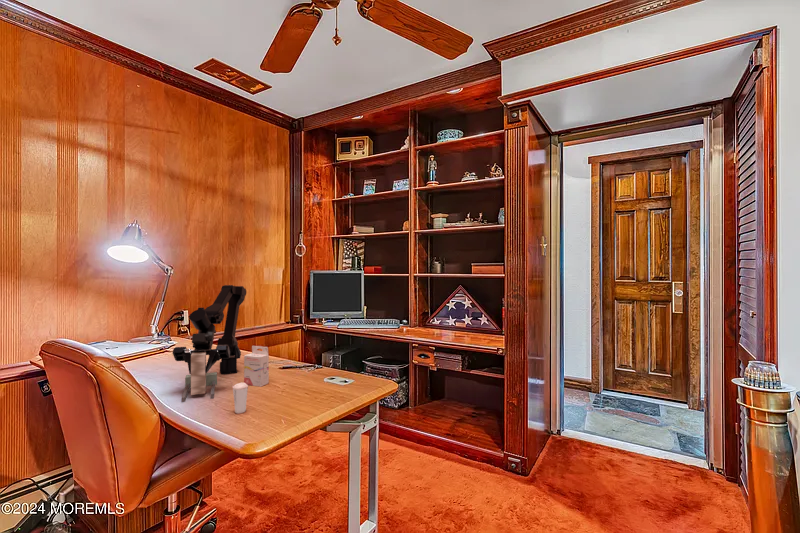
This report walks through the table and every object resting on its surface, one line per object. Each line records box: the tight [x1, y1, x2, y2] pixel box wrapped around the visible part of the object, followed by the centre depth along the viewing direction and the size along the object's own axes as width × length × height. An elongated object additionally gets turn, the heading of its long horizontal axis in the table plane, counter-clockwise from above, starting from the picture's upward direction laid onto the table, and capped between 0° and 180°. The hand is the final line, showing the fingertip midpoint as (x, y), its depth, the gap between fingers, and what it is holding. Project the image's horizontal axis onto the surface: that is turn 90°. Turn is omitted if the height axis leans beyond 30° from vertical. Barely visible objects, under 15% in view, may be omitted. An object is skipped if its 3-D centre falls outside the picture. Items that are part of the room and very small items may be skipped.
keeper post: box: [190, 352, 207, 396], centre depth 142 cm, size 4×4×14 cm
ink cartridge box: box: [243, 345, 270, 387], centre depth 156 cm, size 9×5×15 cm, turn 71°
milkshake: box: [230, 380, 249, 415], centre depth 126 cm, size 4×5×10 cm
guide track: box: [181, 371, 218, 403], centre depth 147 cm, size 11×22×4 cm, turn 24°
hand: (198, 372), depth 141 cm, fingers closed on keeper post, 5 cm apart
